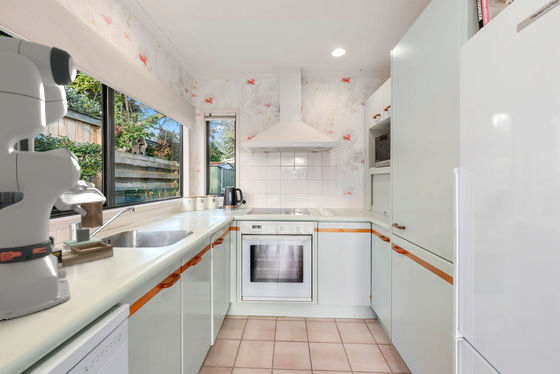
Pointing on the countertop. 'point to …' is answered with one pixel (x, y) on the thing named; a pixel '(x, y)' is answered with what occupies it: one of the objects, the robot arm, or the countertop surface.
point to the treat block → (92, 215)
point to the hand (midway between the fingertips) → (93, 213)
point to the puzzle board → (86, 253)
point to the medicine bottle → (56, 250)
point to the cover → (82, 239)
